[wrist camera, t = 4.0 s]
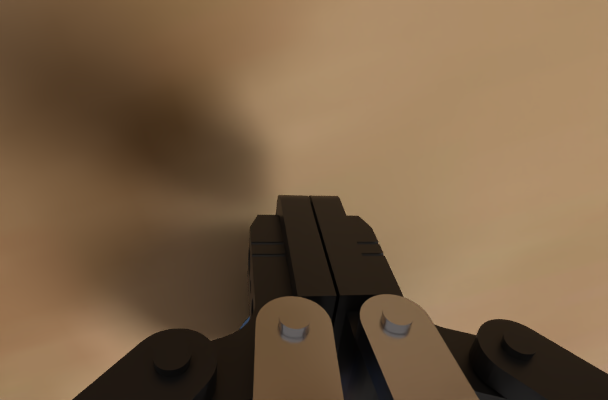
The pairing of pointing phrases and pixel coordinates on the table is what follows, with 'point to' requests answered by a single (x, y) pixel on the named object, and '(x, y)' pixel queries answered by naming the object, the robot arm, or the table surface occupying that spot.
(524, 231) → the table surface
